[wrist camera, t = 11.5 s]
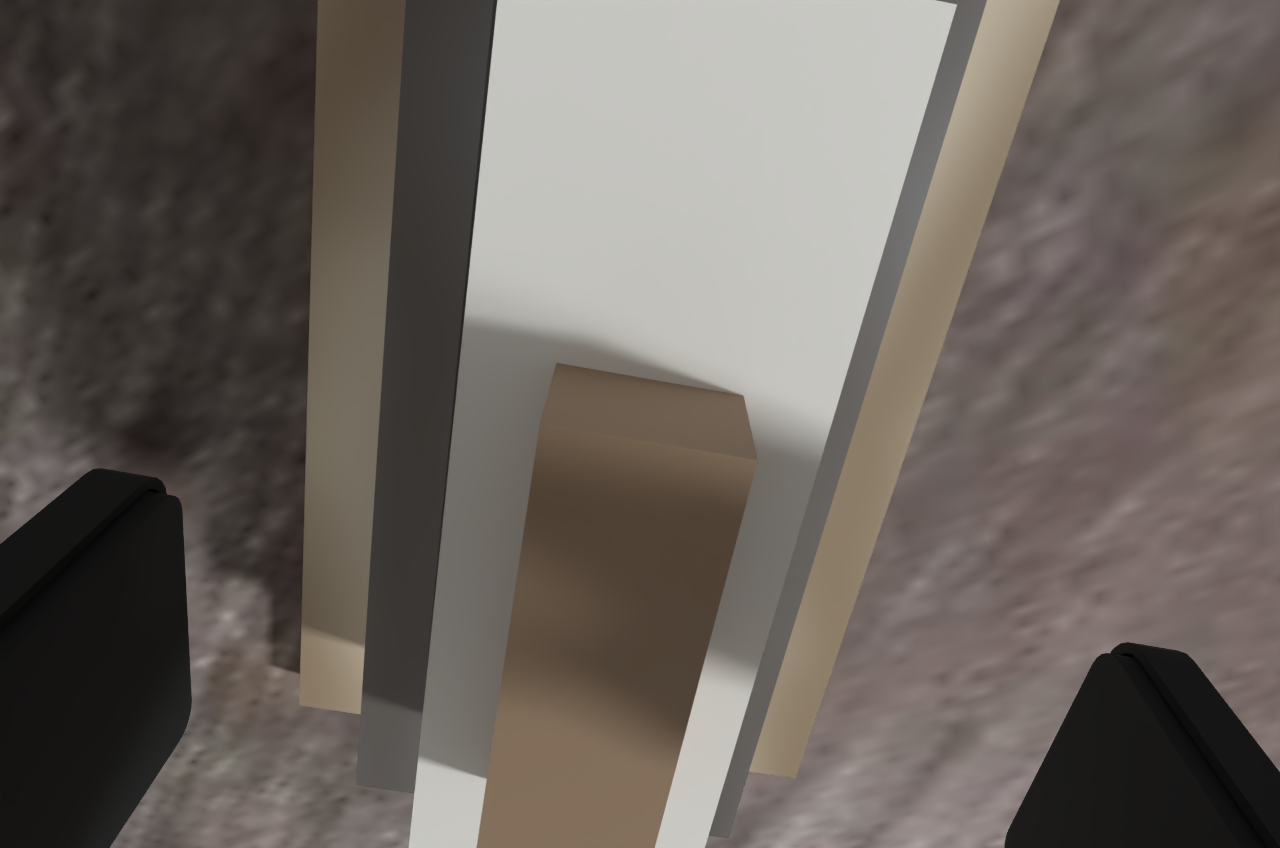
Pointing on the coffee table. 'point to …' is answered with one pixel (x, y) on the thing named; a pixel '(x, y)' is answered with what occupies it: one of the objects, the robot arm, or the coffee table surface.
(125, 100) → the coffee table surface
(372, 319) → the groove stand
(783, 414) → the cabinet block
